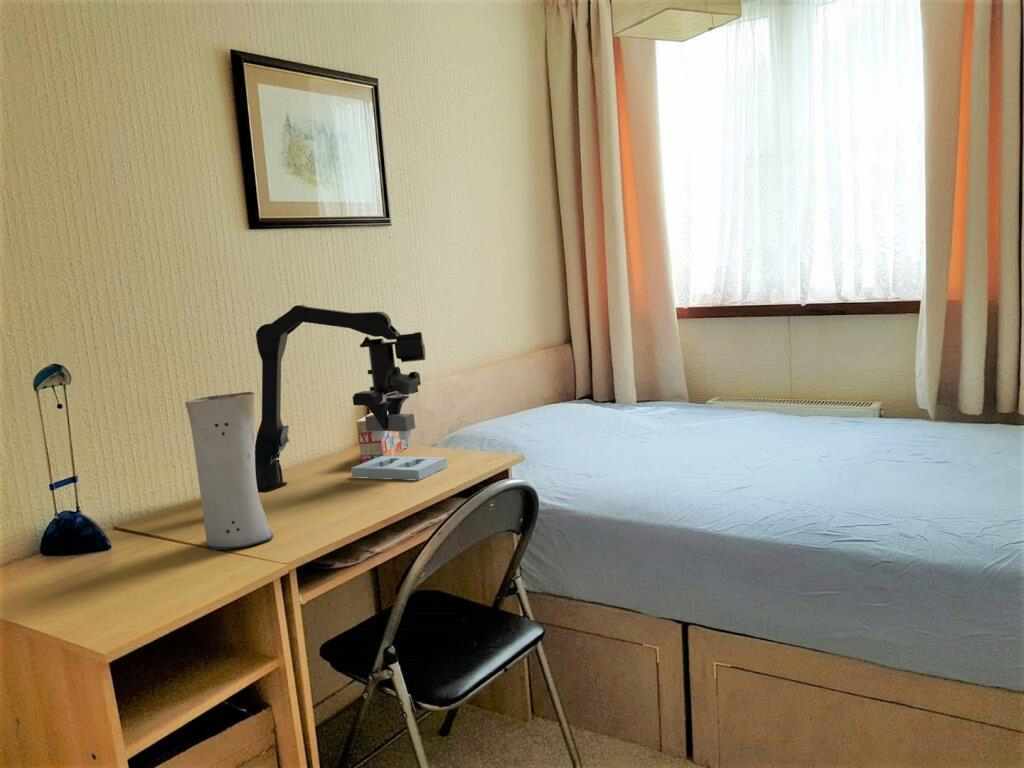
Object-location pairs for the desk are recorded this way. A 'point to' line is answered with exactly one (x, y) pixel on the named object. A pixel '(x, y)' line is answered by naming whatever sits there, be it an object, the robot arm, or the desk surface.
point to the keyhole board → (399, 467)
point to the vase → (228, 470)
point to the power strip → (391, 425)
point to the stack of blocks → (378, 442)
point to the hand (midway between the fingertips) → (390, 428)
